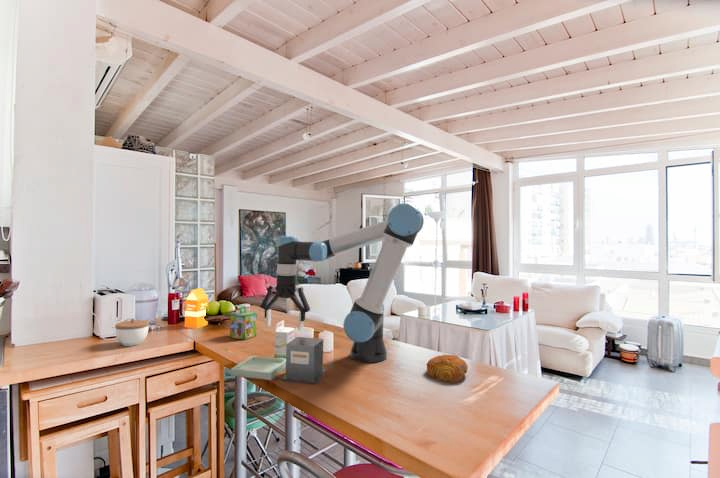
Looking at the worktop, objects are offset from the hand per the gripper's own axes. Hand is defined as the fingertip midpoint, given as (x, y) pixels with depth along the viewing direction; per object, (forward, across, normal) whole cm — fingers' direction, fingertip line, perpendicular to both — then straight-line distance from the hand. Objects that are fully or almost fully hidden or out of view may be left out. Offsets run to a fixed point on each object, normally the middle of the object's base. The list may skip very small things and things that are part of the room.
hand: (284, 327), depth 143 cm
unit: (+12, -15, +15) cm, 24 cm away
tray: (+12, +2, +14) cm, 19 cm away
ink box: (+13, -1, 0) cm, 13 cm away
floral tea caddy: (+13, +31, -25) cm, 42 cm away
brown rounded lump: (+12, -64, 0) cm, 65 cm away
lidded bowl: (+14, +71, -1) cm, 73 cm away
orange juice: (+14, +66, -38) cm, 78 cm away
